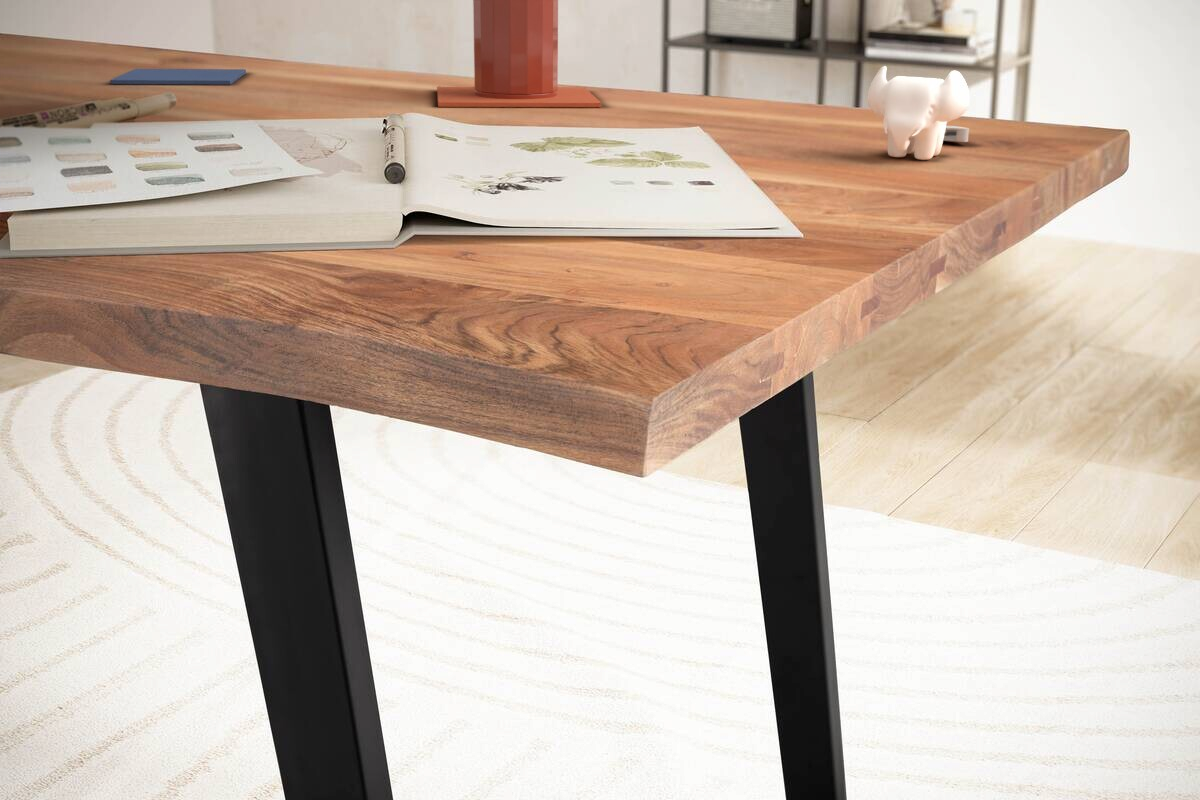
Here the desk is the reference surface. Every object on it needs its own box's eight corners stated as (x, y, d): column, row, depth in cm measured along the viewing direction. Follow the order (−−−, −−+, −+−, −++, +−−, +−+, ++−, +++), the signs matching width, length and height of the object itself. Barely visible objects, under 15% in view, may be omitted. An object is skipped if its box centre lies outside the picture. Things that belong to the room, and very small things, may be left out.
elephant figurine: (846, 160, 85) (853, 69, 83) (879, 145, 92) (887, 60, 90) (947, 170, 83) (957, 75, 81) (974, 153, 89) (984, 66, 87)
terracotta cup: (476, 103, 111) (474, -5, 108) (473, 93, 118) (471, -8, 115) (560, 104, 112) (561, -4, 109) (553, 94, 119) (553, -7, 116)
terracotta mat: (438, 106, 109) (437, 102, 108) (437, 91, 120) (437, 86, 120) (601, 107, 110) (601, 102, 110) (585, 91, 122) (585, 87, 121)
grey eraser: (899, 138, 98) (900, 123, 97) (925, 137, 99) (926, 122, 98) (951, 143, 92) (952, 127, 92) (978, 142, 93) (978, 126, 93)
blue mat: (110, 84, 120) (110, 79, 120) (135, 72, 130) (135, 68, 130) (230, 84, 122) (230, 80, 121) (246, 73, 132) (245, 69, 132)
